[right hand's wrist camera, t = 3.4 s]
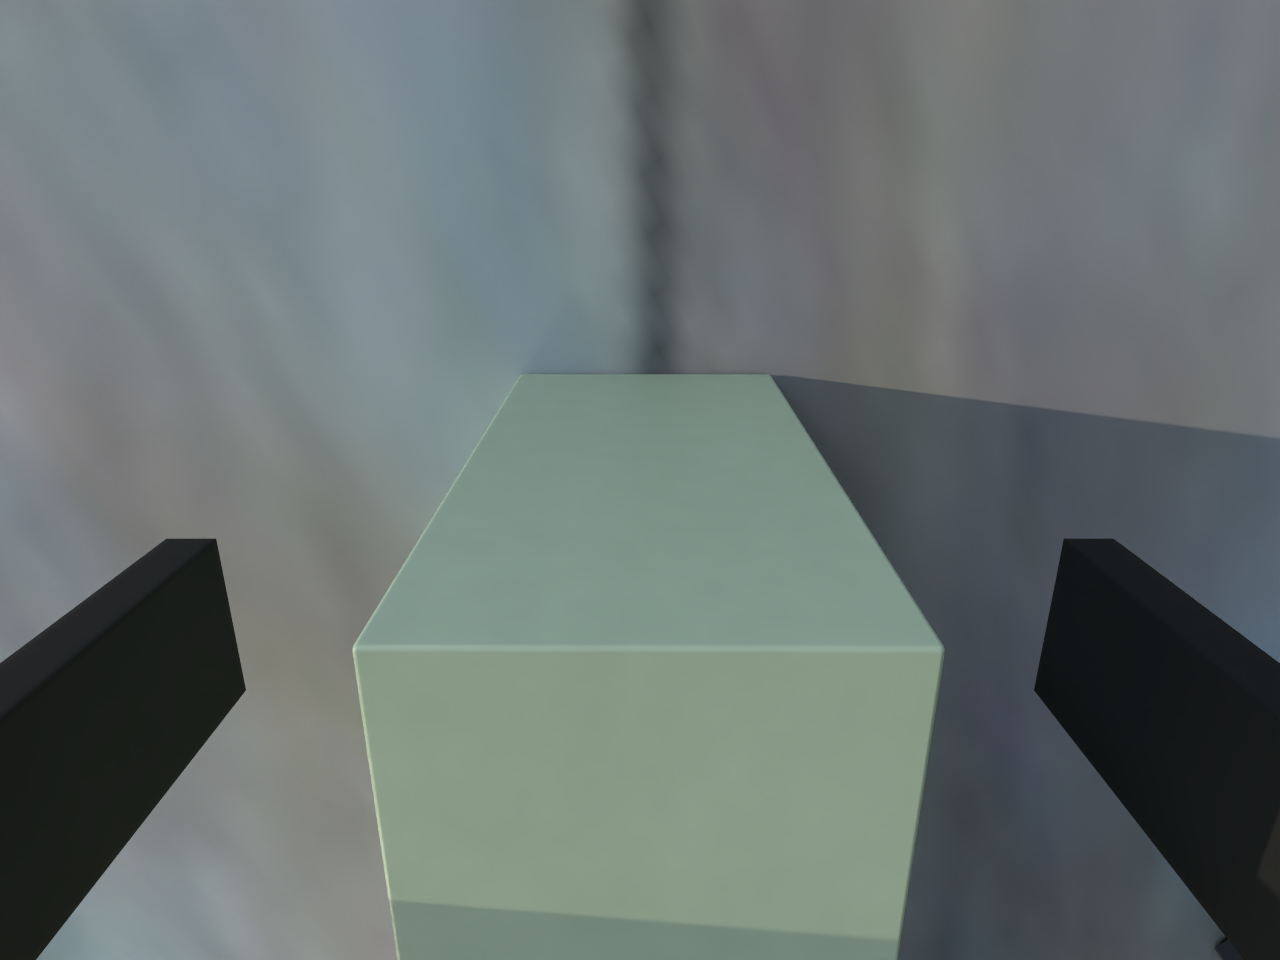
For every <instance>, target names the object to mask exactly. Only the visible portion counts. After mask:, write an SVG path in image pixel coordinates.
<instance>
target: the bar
mask: <svg viewBox="0 0 1280 960" xmlns="http://www.w3.org/2000/svg"><path fill="white" fill-rule="evenodd" d="M352 651H353V657H354V664H355V671H356V678H357V685H358V692H359V699H360V706H361V713H362V719H363V726H364V733H365V740H366V747H367V754H368V761H369V768H370V775H371V781H372V788H373V795H374V802H375V809H376V816H377V823H378V830H379V837H380V843H381V850H382V857H383V864H384V871H385V878H386V885H387V892H388V899H389V905H390V912H391V919H392V926H393V933H394V940H395V947H396V954H397V960H898V954H899V948H900V941H901V935H902V928H903V922H904V915H905V909H906V902H907V896H908V890H909V883H910V877H911V870H912V864H913V857H914V851H915V844H916V838H917V831H918V825H919V818H920V812H921V805H922V799H923V792H924V786H925V779H926V773H927V766H928V760H929V753H930V747H931V740H932V734H933V727H934V721H935V714H936V708H937V701H938V695H939V688H940V682H941V675H942V669H943V662H944V656H945V648H944V646H943V644H942V643H941V641H940V640H939V638H938V636H937V635H936V633H935V632H934V630H933V629H932V627H931V625H930V624H929V622H928V621H927V619H926V618H925V616H924V614H923V613H922V611H921V610H920V608H919V607H918V605H917V604H916V602H915V600H914V599H913V597H912V596H911V594H910V593H909V591H908V589H907V588H906V586H905V585H904V583H903V582H902V580H901V578H900V577H899V575H898V574H897V572H896V571H895V569H894V568H893V566H892V564H891V563H890V561H889V560H888V558H887V557H886V555H885V553H884V552H883V550H882V549H881V547H880V546H879V544H878V543H877V541H876V539H875V538H874V536H873V535H872V533H871V532H870V530H869V528H868V527H867V525H866V524H865V522H864V521H863V519H862V517H861V516H860V514H859V513H858V511H857V510H856V508H855V507H854V505H853V503H852V502H851V500H850V499H849V497H848V496H847V494H846V492H845V491H844V489H843V488H842V486H841V485H840V483H839V481H838V480H837V478H836V477H835V475H834V474H833V472H832V471H831V469H830V467H829V466H828V464H827V463H826V461H825V460H824V458H823V456H822V455H821V453H820V452H819V450H818V449H817V447H816V445H815V444H814V442H813V441H812V439H811V438H810V436H809V435H808V433H807V431H806V430H805V428H804V427H803V425H802V424H801V422H800V420H799V419H798V417H797V416H796V414H795V413H794V411H793V409H792V408H791V406H790V405H789V403H788V402H787V400H786V399H785V397H784V395H783V394H782V392H781V391H780V389H779V388H778V386H777V384H776V383H775V381H774V380H773V378H772V377H771V375H769V374H522V375H520V377H519V378H518V380H517V381H516V383H515V385H514V386H513V388H512V390H511V391H510V393H509V394H508V396H507V398H506V399H505V401H504V402H503V404H502V406H501V407H500V409H499V411H498V412H497V414H496V415H495V417H494V419H493V420H492V422H491V424H490V425H489V427H488V428H487V430H486V432H485V433H484V435H483V436H482V438H481V440H480V441H479V443H478V445H477V446H476V448H475V449H474V451H473V453H472V454H471V456H470V458H469V459H468V461H467V462H466V464H465V466H464V467H463V469H462V471H461V472H460V474H459V475H458V477H457V479H456V480H455V482H454V483H453V485H452V487H451V488H450V490H449V492H448V493H447V495H446V496H445V498H444V500H443V501H442V503H441V505H440V506H439V508H438V509H437V511H436V513H435V514H434V516H433V518H432V519H431V521H430V522H429V524H428V526H427V527H426V529H425V530H424V532H423V534H422V535H421V537H420V539H419V540H418V542H417V543H416V545H415V547H414V548H413V550H412V552H411V553H410V555H409V556H408V558H407V560H406V561H405V563H404V564H403V566H402V568H401V569H400V571H399V573H398V574H397V576H396V577H395V579H394V581H393V582H392V584H391V586H390V587H389V589H388V590H387V592H386V594H385V595H384V597H383V599H382V600H381V602H380V603H379V605H378V607H377V608H376V610H375V611H374V613H373V615H372V616H371V618H370V620H369V621H368V623H367V624H366V626H365V628H364V629H363V631H362V633H361V634H360V636H359V637H358V639H357V641H356V642H355V644H354V646H353V649H352Z"/></svg>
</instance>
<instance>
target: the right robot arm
mask: <svg viewBox="0 0 1280 960" xmlns="http://www.w3.org/2000/svg"><path fill="white" fill-rule="evenodd" d="M245 691H246V688H245V683H244V678H243V673H242V668H241V663H240V658H239V653H238V648H237V643H236V638H235V633H234V627H233V622H232V617H231V612H230V607H229V602H228V597H227V592H226V587H225V582H224V577H223V572H222V567H221V561H220V556H219V551H218V546H217V541H216V539H166V540H164V541H163V542H162V543H160V544H159V545H158V546H156V547H155V548H154V549H152V550H151V551H150V552H148V553H147V554H146V555H144V556H143V557H142V558H140V559H139V560H138V561H136V562H135V563H134V564H132V565H131V566H130V567H128V568H127V569H126V570H124V571H123V572H122V573H120V574H119V575H118V576H116V577H115V578H114V579H112V580H111V581H110V582H108V583H107V584H106V585H104V586H103V587H102V588H100V589H99V590H98V591H96V592H95V593H94V594H92V595H91V596H90V597H88V598H87V599H86V600H84V601H83V602H82V603H80V604H79V605H78V606H76V607H75V608H74V609H72V610H71V611H70V612H68V613H67V614H66V615H64V616H63V617H62V618H60V619H59V620H58V621H56V622H55V623H54V624H52V625H51V626H50V627H48V628H47V629H46V630H44V631H43V632H42V633H40V634H39V635H38V636H36V637H35V638H34V639H32V640H31V641H30V642H28V643H27V644H26V645H24V646H23V647H22V648H20V649H19V650H18V651H16V652H15V653H14V654H12V655H11V656H9V657H8V658H7V659H5V660H4V661H3V662H1V663H0V960H36V959H37V958H38V956H39V955H40V954H41V953H42V951H43V950H44V949H45V947H46V946H47V945H48V944H49V942H50V941H51V940H52V938H53V937H54V936H55V935H56V933H57V932H58V931H59V930H60V928H61V927H62V926H63V924H64V923H65V922H66V921H67V919H68V918H69V917H70V915H71V914H72V913H73V912H74V910H75V909H76V908H77V906H78V905H79V904H80V903H81V901H82V900H83V899H84V897H85V896H86V895H87V894H88V892H89V891H90V890H91V888H92V887H93V886H94V885H95V883H96V882H97V881H98V879H99V878H100V877H101V876H102V874H103V873H104V872H105V870H106V869H107V868H108V867H109V865H110V864H111V863H112V861H113V860H114V859H115V858H116V856H117V855H118V854H119V852H120V851H121V850H122V849H123V847H124V846H125V845H126V843H127V842H128V841H129V840H130V838H131V837H132V836H133V834H134V833H135V832H136V831H137V829H138V828H139V827H140V825H141V824H142V823H143V822H144V820H145V819H146V818H147V816H148V815H149V814H150V813H151V811H152V810H153V809H154V808H155V806H156V805H157V804H158V802H159V801H160V800H161V799H162V797H163V796H164V795H165V793H166V792H167V791H168V790H169V788H170V787H171V786H172V784H173V783H174V782H175V781H176V779H177V778H178V777H179V775H180V774H181V773H182V772H183V770H184V769H185V768H186V766H187V765H188V764H189V763H190V761H191V760H192V759H193V757H194V756H195V755H196V754H197V752H198V751H199V750H200V748H201V747H202V746H203V745H204V743H205V742H206V741H207V739H208V738H209V737H210V736H211V734H212V733H213V732H214V730H215V729H216V728H217V727H218V725H219V724H220V723H221V721H222V720H223V719H224V718H225V716H226V715H227V714H228V712H229V711H230V710H231V709H232V707H233V706H234V705H235V703H236V702H237V701H238V700H239V698H240V697H241V696H242V695H243V693H244V692H245ZM1034 691H1035V692H1036V693H1037V695H1038V696H1039V697H1040V698H1041V700H1042V701H1043V702H1044V703H1045V705H1046V706H1047V707H1048V709H1049V710H1050V711H1051V712H1052V714H1053V715H1054V716H1055V718H1056V719H1057V720H1058V721H1059V723H1060V724H1061V725H1062V727H1063V728H1064V729H1065V730H1066V732H1067V733H1068V734H1069V736H1070V737H1071V738H1072V739H1073V741H1074V742H1075V743H1076V745H1077V746H1078V747H1079V748H1080V750H1081V751H1082V752H1083V754H1084V755H1085V756H1086V757H1087V759H1088V760H1089V761H1090V763H1091V764H1092V765H1093V766H1094V768H1095V769H1096V770H1097V772H1098V773H1099V774H1100V775H1101V777H1102V778H1103V779H1104V781H1105V782H1106V783H1107V784H1108V786H1109V787H1110V788H1111V790H1112V791H1113V792H1114V793H1115V795H1116V796H1117V797H1118V799H1119V800H1120V801H1121V802H1122V804H1123V805H1124V806H1125V808H1126V809H1127V810H1128V811H1129V813H1130V814H1131V815H1132V816H1133V818H1134V819H1135V820H1136V822H1137V823H1138V824H1139V825H1140V827H1141V828H1142V829H1143V831H1144V832H1145V833H1146V834H1147V836H1148V837H1149V838H1150V840H1151V841H1152V842H1153V843H1154V845H1155V846H1156V847H1157V849H1158V850H1159V851H1160V852H1161V854H1162V855H1163V856H1164V858H1165V859H1166V860H1167V861H1168V863H1169V864H1170V865H1171V867H1172V868H1173V869H1174V870H1175V872H1176V873H1177V874H1178V876H1179V877H1180V878H1181V879H1182V881H1183V882H1184V883H1185V885H1186V886H1187V887H1188V888H1189V890H1190V891H1191V892H1192V894H1193V895H1194V896H1195V897H1196V899H1197V900H1198V901H1199V903H1200V904H1201V905H1202V906H1203V908H1204V909H1205V910H1206V912H1207V913H1208V914H1209V915H1210V917H1211V918H1212V919H1213V921H1214V922H1215V923H1216V924H1217V926H1218V927H1219V928H1220V930H1221V931H1222V932H1223V933H1224V935H1225V936H1226V937H1227V938H1228V940H1229V941H1230V942H1231V944H1232V945H1233V946H1234V947H1235V949H1236V950H1237V951H1238V953H1239V954H1240V955H1241V956H1242V958H1243V959H1244V960H1280V663H1279V662H1277V661H1276V660H1275V659H1273V658H1272V657H1271V656H1269V655H1268V654H1266V653H1265V652H1264V651H1262V650H1261V649H1260V648H1258V647H1257V646H1256V645H1254V644H1253V643H1252V642H1250V641H1249V640H1248V639H1246V638H1245V637H1244V636H1242V635H1241V634H1240V633H1238V632H1237V631H1236V630H1234V629H1233V628H1232V627H1230V626H1229V625H1228V624H1226V623H1225V622H1224V621H1222V620H1221V619H1220V618H1218V617H1217V616H1216V615H1214V614H1213V613H1212V612H1210V611H1209V610H1208V609H1206V608H1205V607H1204V606H1202V605H1201V604H1200V603H1198V602H1197V601H1196V600H1194V599H1193V598H1192V597H1190V596H1189V595H1188V594H1186V593H1185V592H1184V591H1182V590H1181V589H1180V588H1178V587H1177V586H1176V585H1174V584H1173V583H1172V582H1170V581H1169V580H1168V579H1166V578H1165V577H1164V576H1162V575H1161V574H1160V573H1158V572H1157V571H1156V570H1154V569H1153V568H1152V567H1150V566H1149V565H1148V564H1146V563H1145V562H1144V561H1142V560H1141V559H1140V558H1138V557H1137V556H1136V555H1134V554H1133V553H1132V552H1130V551H1129V550H1128V549H1126V548H1125V547H1124V546H1122V545H1121V544H1120V543H1118V542H1117V541H1116V540H1114V539H1064V541H1063V546H1062V551H1061V556H1060V561H1059V567H1058V572H1057V577H1056V582H1055V587H1054V592H1053V597H1052V602H1051V607H1050V612H1049V617H1048V622H1047V627H1046V633H1045V638H1044V643H1043V648H1042V653H1041V658H1040V663H1039V668H1038V673H1037V678H1036V683H1035V688H1034Z"/></svg>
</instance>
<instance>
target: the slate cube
mask: <svg viewBox="0 0 1280 960" xmlns="http://www.w3.org/2000/svg"><path fill="white" fill-rule="evenodd" d="M1215 949H1216V952H1217V953H1218V955H1219V956H1220V957H1221V959H1222V960H1244V959H1243V958H1242V956H1241V955H1240V954H1239V953H1238V951H1237V950H1236V949H1235V947H1234V946H1233V945H1232V944H1231V942H1230V941H1229V940H1228V939H1227V940H1226V941H1224V942H1223V943H1221V944H1220V945H1218V946H1217V947H1216V948H1215Z"/></svg>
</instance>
